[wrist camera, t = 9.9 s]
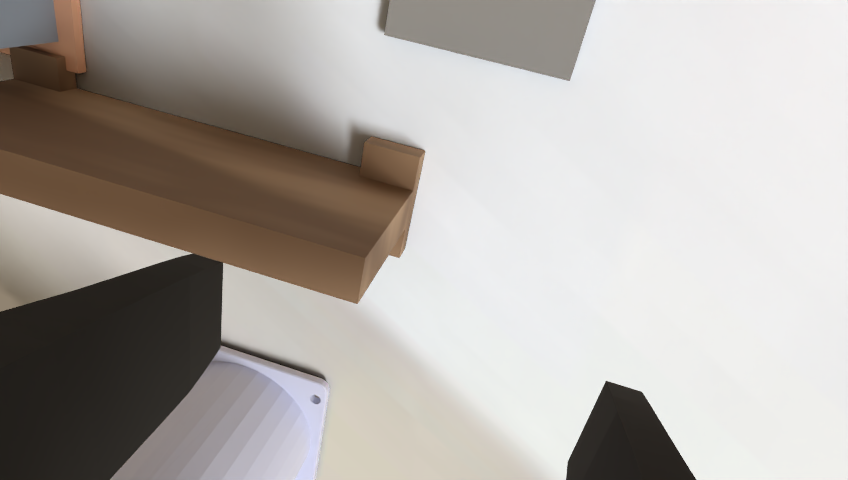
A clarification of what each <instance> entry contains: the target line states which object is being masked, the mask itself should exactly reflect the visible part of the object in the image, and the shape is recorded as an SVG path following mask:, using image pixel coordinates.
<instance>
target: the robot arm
mask: <svg viewBox="0 0 848 480" xmlns="http://www.w3.org/2000/svg"><path fill="white" fill-rule="evenodd" d="M222 281H223V262H220V261H216V260H213V259H210V258H207V257H203V256H200V255H197V254H190V255H185V256H181V257H178V258H174V259H171V260H168V261H164V262H161V263H158V264H155V265H152V266H149V267H146V268H142V269H139V270H136V271H133V272H130V273H127V274H124V275H121V276H118V277H115V278H112V279H109V280H106V281H102V282H99V283H96V284H93V285H90V286H87V287H84V288H81V289H78V290H74V291H71V292H68V293H64V294H61V295H57V296H54V297H50V298H47V299H43V300H40V301H36V302H33V303H29V304H26V305H22V306H19V307H16V308H12V309H9V310H5V311H2V312H0V480H316V474H317V468H318V461H319V455H320V449H321V442H322V436H323V430H324V423H325V417H326V411H327V404H328V398H329V392H330V387H329V385H328V383H327V382H326V381H325V380H323V379H321V378H319V377H316V376H312V375H309V374H306V373H303V372H300V371H297V370H294V369H291V368H288V367H285V366H282V365H279V364H276V363H273V362H270V361H267V360H264V359H261V358H258V357H255V356H251V355H248V354H245V353H242V352H239V351H236V350H233V349H230V348H227V347H224V346H221V315H222ZM315 395H316V396H318V397H319V398H317V397H315ZM566 480H696V479H695V477H694V476H693V474H692V472H691V471H690V469H689V468H688V466H687V464H686V463H685V461H684V460H683V458H682V456H681V455H680V453H679V451H678V450H677V448H676V447H675V445H674V443H673V442H672V440H671V438H670V437H669V435H668V434H667V432H666V430H665V429H664V427H663V425H662V424H661V422H660V420H659V419H658V417H657V415H656V414H655V412H654V410H653V409H652V407H651V406H650V404H649V402H648V401H647V399H646V398H645V396H644V395H643V393H642V392H640V391H637V390H634V389H631V388H627V387H624V386H621V385H618V384H614V383H611V382H608V381H606V382H605V385H604V387H603V389H602V391H601V393H600V395H599V397H598V399H597V401H596V404H595V406H594V408H593V410H592V412H591V414H590V416H589V418H588V420H587V423H586V425H585V427H584V429H583V431H582V433H581V435H580V437H579V439H578V442H577V444H576V446H575V448H574V450H573V452H572V454H571V456H570V458H569V461H568V466H567V477H566Z"/></svg>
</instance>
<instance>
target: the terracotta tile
mask: <svg viewBox="0 0 848 480" xmlns="http://www.w3.org/2000/svg"><path fill="white" fill-rule="evenodd" d="M53 2H54V10H55V18H56V26H57V33H58V41H59V42H52V43H44V44H36V45H27V47H31V48H34V49H38V50H42V51H45V52H49V53H53V54H56V55H60V56H64V57H65V61H66V70H67V71H71V72H74V73H84V72H86V63H85V52H84V41H83V30H82V19H81V8H80V0H53ZM0 52H2V53H5V54H9V55H10V49H9V48H3V49H0Z"/></svg>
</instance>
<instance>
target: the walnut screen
mask: <svg viewBox="0 0 848 480" xmlns="http://www.w3.org/2000/svg"><path fill="white" fill-rule="evenodd" d="M9 49H10V56H11V62H12V69H13V75H14V79H11V80H6V81H0V194H3V195H6V196H9V197H13V198H16V199H19V200H22V201H26V202H29V203H32V204H35V205H39V206H42V207H45V208H48V209H51V210H55V211H58V212H61V213H64V214H68V215H71V216H74V217H77V218H81V219H84V220H87V221H90V222H94V223H97V224H100V225H103V226H106V227H110V228H113V229H116V230H119V231H123V232H126V233H129V234H132V235H136V236H139V237H142V238H145V239H149V240H152V241H155V242H158V243H162V244H165V245H168V246H171V247H174V248H178V249H181V250H184V251H187V252H191V253H194V254H197V255H200V256H204V257H207V258H210V259H213V260H217V261H220V262H223V263H226V264H230V265H233V266H236V267H239V268H242V269H246V270H249V271H252V272H255V273H259V274H262V275H265V276H268V277H272V278H275V279H278V280H281V281H285V282H288V283H291V284H294V285H298V286H301V287H304V288H307V289H310V290H314V291H317V292H320V293H323V294H327V295H330V296H333V297H336V298H340V299H343V300H346V301H349V302H353V303H356V304H358V302H359V301H360V299H361V298H362V296H363V294H364V293H365V291H366V290H367V288H368V287H369V285H370V283H371V282H372V280H373V279H374V277H375V276H376V274H377V272H378V271H379V269H380V268H381V266H382V265H383V263H384V261H385V260H386V258H387V257H388V255H391V256H395V257H398V258H400V256H401V254H402V253H403V251H404V249H405V245H406V241H407V236H408V231H409V226H410V222H411V217H412V212H413V207H414V203H415V198H416V193H417V188H418V184H419V179H420V174H421V169H422V165H423V160H424V155H425V151H424V150H420V149H416V148H413V147H409V146H405V145H402V144H398V143H394V142H391V141H387V140H383V139H380V138H376V137H372V136H371V137H370V138H369V139H368V140H366V141H365V142H364V148H363V154H362V161H361V167H358V166H354V165H351V164H347V163H343V162H340V161H336V160H333V159H329V158H326V157H322V156H318V155H315V154H311V153H308V152H304V151H300V150H297V149H293V148H290V147H286V146H282V145H279V144H275V143H272V142H268V141H265V140H261V139H257V138H254V137H250V136H247V135H243V134H239V133H236V132H232V131H229V130H225V129H221V128H218V127H214V126H211V125H207V124H203V123H200V122H196V121H193V120H189V119H186V118H182V117H178V116H175V115H171V114H168V113H164V112H160V111H157V110H153V109H150V108H146V107H142V106H139V105H135V104H132V103H128V102H125V101H121V100H117V99H114V98H110V97H107V96H103V95H99V94H96V93H92V92H89V91H85V90H81V89H78V88H77V85H76V75H75V73H74V72H71V71H67V70H66V61H65V57H64V56H60V55H56V54H53V53H49V52H45V51H42V50H38V49H34V48H31V47H27V46H19V47H11V48H9Z"/></svg>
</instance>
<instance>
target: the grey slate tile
mask: <svg viewBox="0 0 848 480" xmlns="http://www.w3.org/2000/svg"><path fill="white" fill-rule="evenodd" d="M594 4H595V0H390V2H389V8H388V15H387V21H386V27H385V34H384V35H387V36H391V37H395V38H399V39H403V40H407V41H411V42H415V43H419V44H423V45H427V46H431V47H435V48H439V49H443V50H447V51H451V52H455V53H459V54H463V55H467V56H471V57H475V58H479V59H483V60H487V61H492V62H496V63H500V64H504V65H508V66H512V67H516V68H520V69H524V70H528V71H532V72H536V73H540V74H544V75H548V76H552V77H556V78H560V79H564V80H568V81H570V78H571V75H572V72H573V69H574V66H575V63H576V60H577V57H578V53H579V50H580V47H581V44H582V41H583V38H584V35H585V32H586V29H587V25H588V22H589V19H590V16H591V13H592V10H593V7H594Z"/></svg>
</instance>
